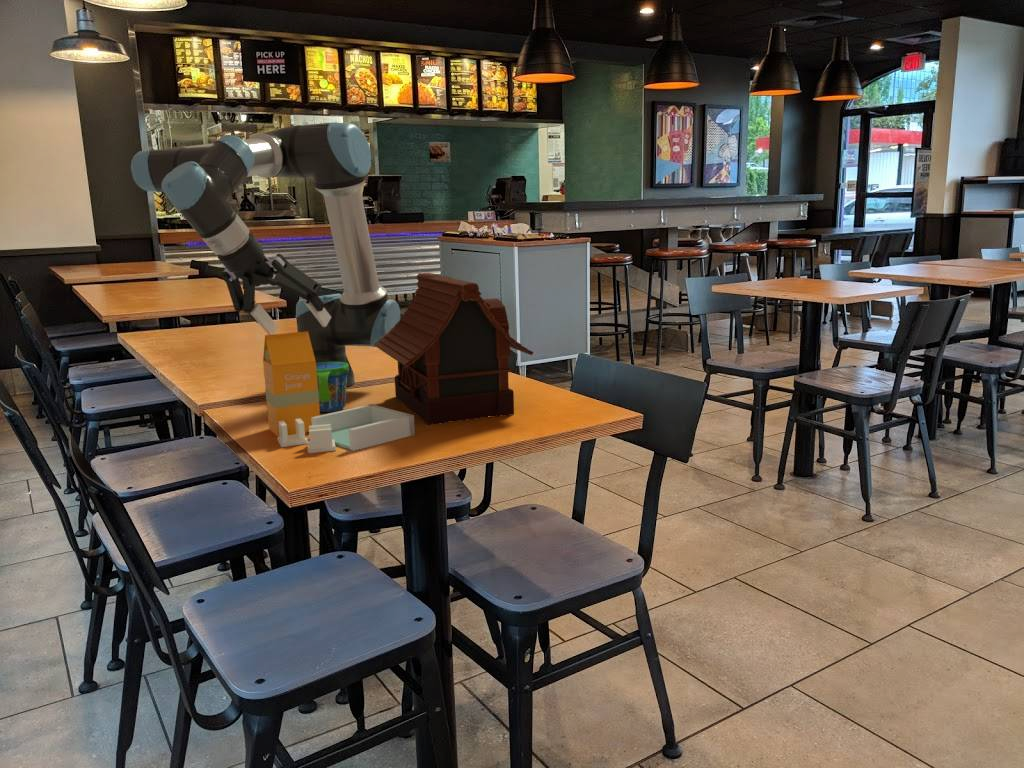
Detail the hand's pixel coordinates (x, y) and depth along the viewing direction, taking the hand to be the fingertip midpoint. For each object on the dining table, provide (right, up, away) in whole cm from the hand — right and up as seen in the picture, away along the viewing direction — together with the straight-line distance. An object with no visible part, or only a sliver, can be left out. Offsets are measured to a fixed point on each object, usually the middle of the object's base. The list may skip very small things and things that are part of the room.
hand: (300, 327), depth 154 cm
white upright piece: (+6, -23, -8) cm, 25 cm away
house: (+28, -16, +24) cm, 40 cm away
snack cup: (0, -17, +22) cm, 28 cm away
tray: (+12, -22, -1) cm, 25 cm away
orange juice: (-3, -21, +6) cm, 22 cm away
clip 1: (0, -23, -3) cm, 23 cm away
